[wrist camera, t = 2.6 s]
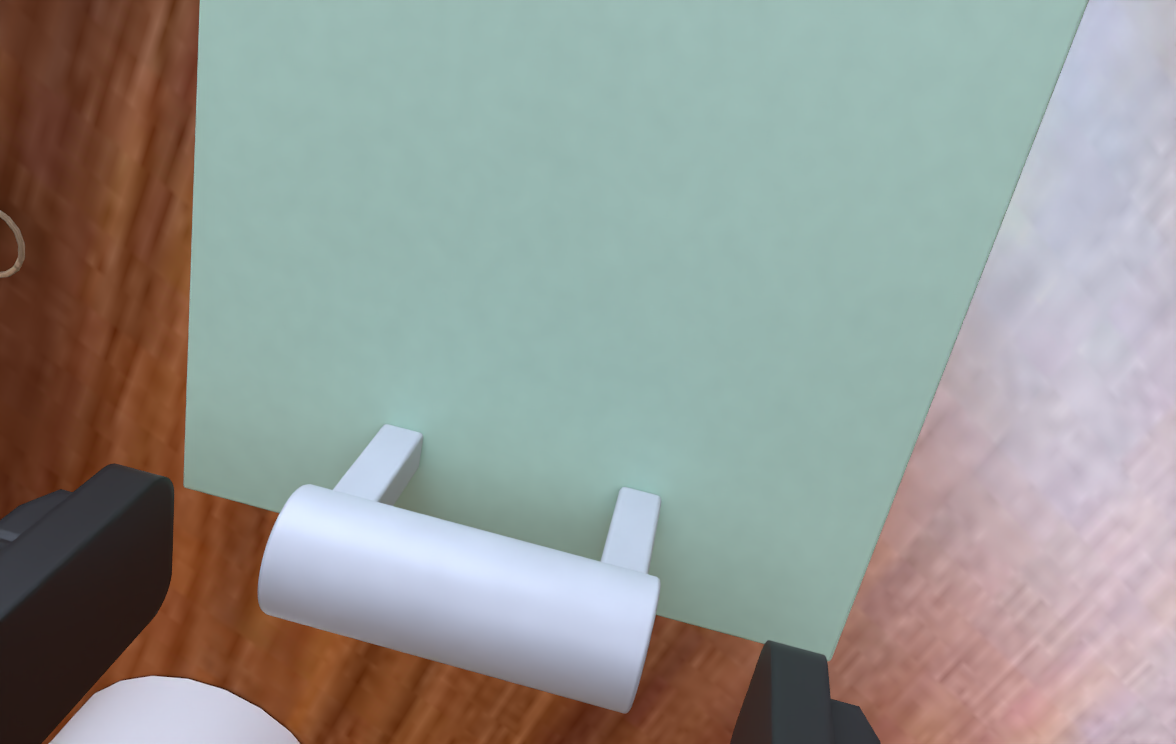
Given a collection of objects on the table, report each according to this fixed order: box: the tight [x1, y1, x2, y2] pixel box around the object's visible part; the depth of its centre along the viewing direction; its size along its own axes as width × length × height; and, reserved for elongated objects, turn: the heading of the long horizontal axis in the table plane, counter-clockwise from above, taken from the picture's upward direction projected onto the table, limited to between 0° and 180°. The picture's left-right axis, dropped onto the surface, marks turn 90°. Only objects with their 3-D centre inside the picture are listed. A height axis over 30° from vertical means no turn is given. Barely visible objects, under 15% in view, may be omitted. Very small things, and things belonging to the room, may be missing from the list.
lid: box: [183, 0, 1089, 713], centre depth 13 cm, size 13×12×5 cm
